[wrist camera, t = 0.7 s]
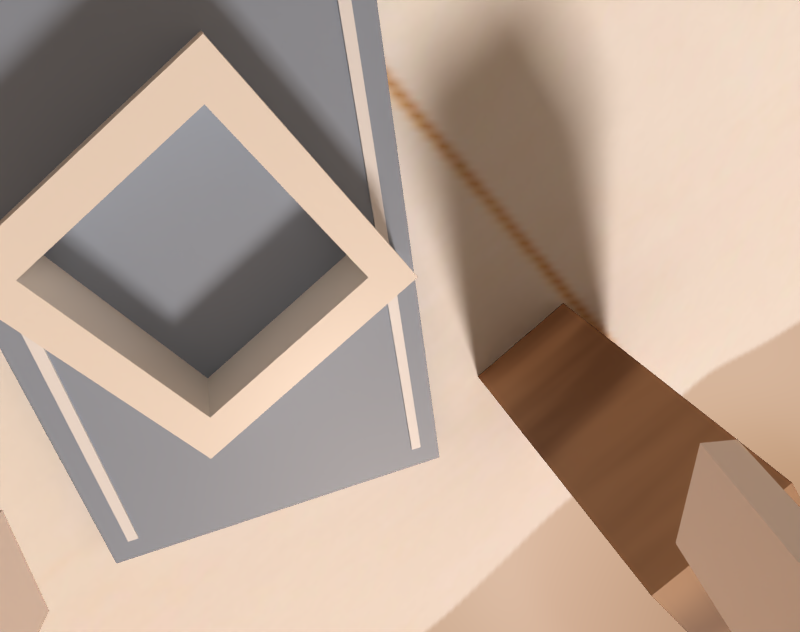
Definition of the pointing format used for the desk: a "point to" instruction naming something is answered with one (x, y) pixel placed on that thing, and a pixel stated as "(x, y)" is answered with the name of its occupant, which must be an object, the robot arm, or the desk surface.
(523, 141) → the desk surface
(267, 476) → the board
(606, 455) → the pillar
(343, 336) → the socket collar
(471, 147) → the desk surface
